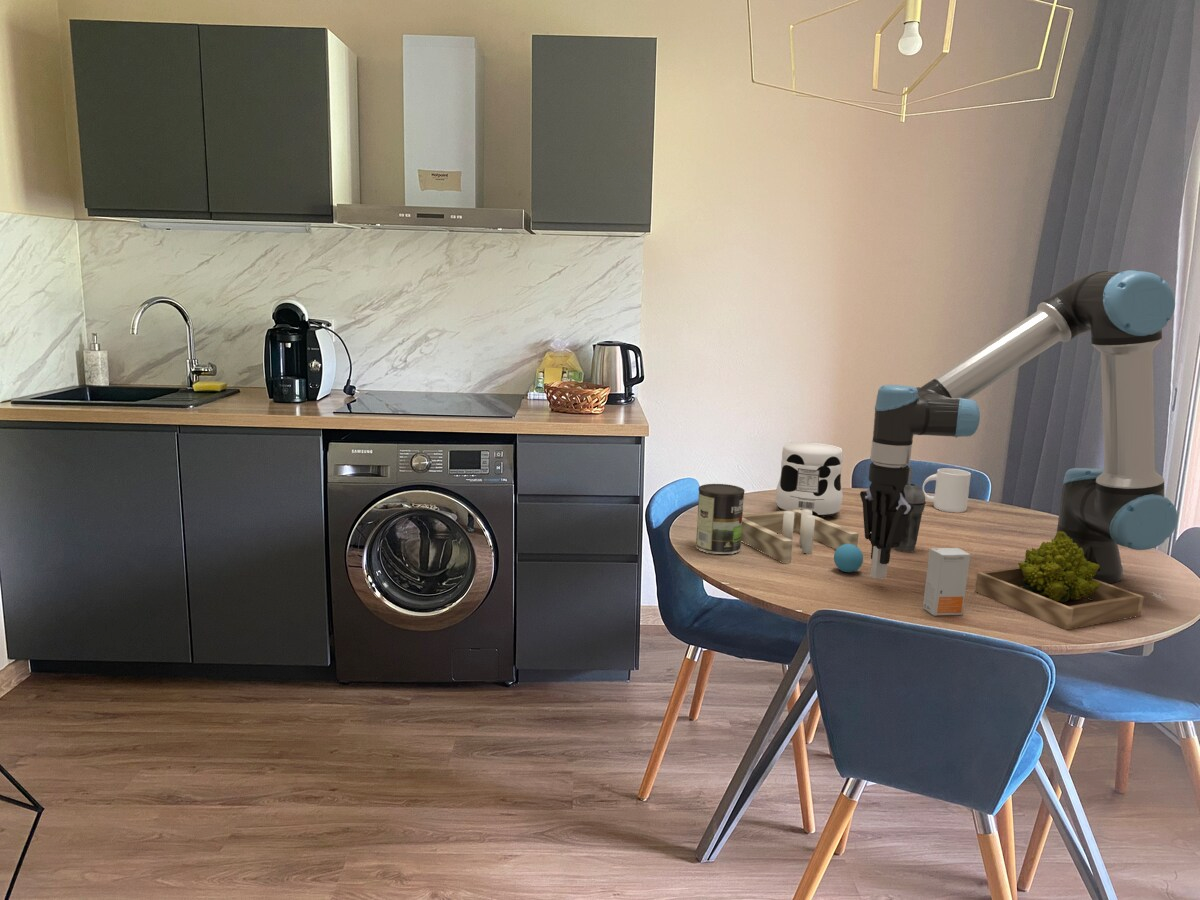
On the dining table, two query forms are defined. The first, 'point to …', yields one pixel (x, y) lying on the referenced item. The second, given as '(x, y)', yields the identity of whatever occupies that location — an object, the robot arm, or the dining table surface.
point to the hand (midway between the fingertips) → (878, 577)
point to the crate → (1106, 608)
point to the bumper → (766, 525)
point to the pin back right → (804, 512)
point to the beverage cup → (912, 515)
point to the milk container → (810, 478)
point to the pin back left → (788, 524)
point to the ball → (848, 558)
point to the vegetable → (1059, 570)
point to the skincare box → (946, 581)
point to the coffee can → (719, 518)
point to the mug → (950, 489)
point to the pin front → (808, 534)
